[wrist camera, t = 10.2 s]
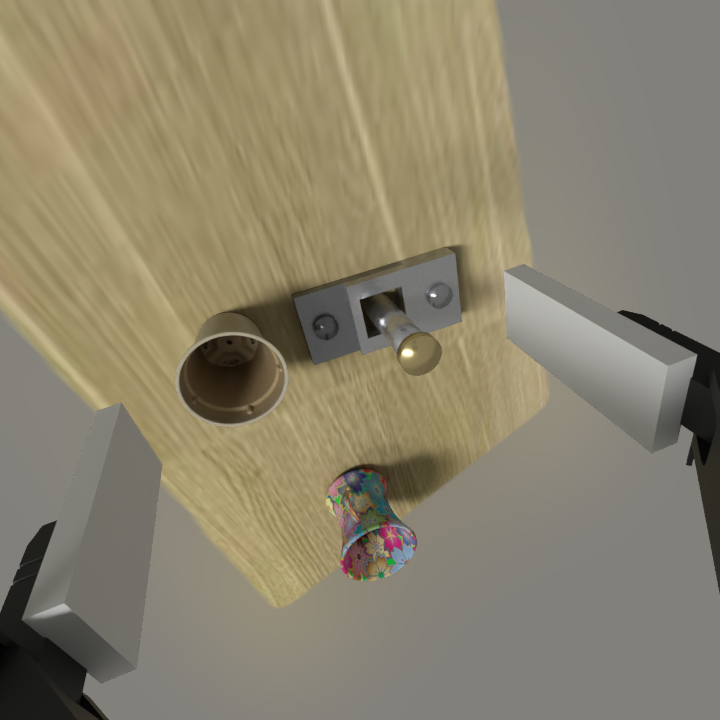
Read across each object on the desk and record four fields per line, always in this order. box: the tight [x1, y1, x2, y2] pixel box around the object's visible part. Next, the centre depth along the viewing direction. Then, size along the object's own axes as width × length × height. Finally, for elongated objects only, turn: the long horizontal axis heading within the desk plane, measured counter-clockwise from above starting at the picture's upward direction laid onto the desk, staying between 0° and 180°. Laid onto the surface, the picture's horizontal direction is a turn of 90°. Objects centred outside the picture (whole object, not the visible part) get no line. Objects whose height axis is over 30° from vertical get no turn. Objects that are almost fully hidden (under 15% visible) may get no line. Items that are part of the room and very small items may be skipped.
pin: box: [365, 293, 442, 376], centre depth 44 cm, size 4×4×12 cm
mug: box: [326, 469, 417, 581], centre depth 56 cm, size 12×9×11 cm
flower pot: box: [175, 313, 289, 427], centre depth 42 cm, size 9×9×9 cm
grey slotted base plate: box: [292, 247, 462, 365], centre depth 48 cm, size 8×17×3 cm, turn 102°
